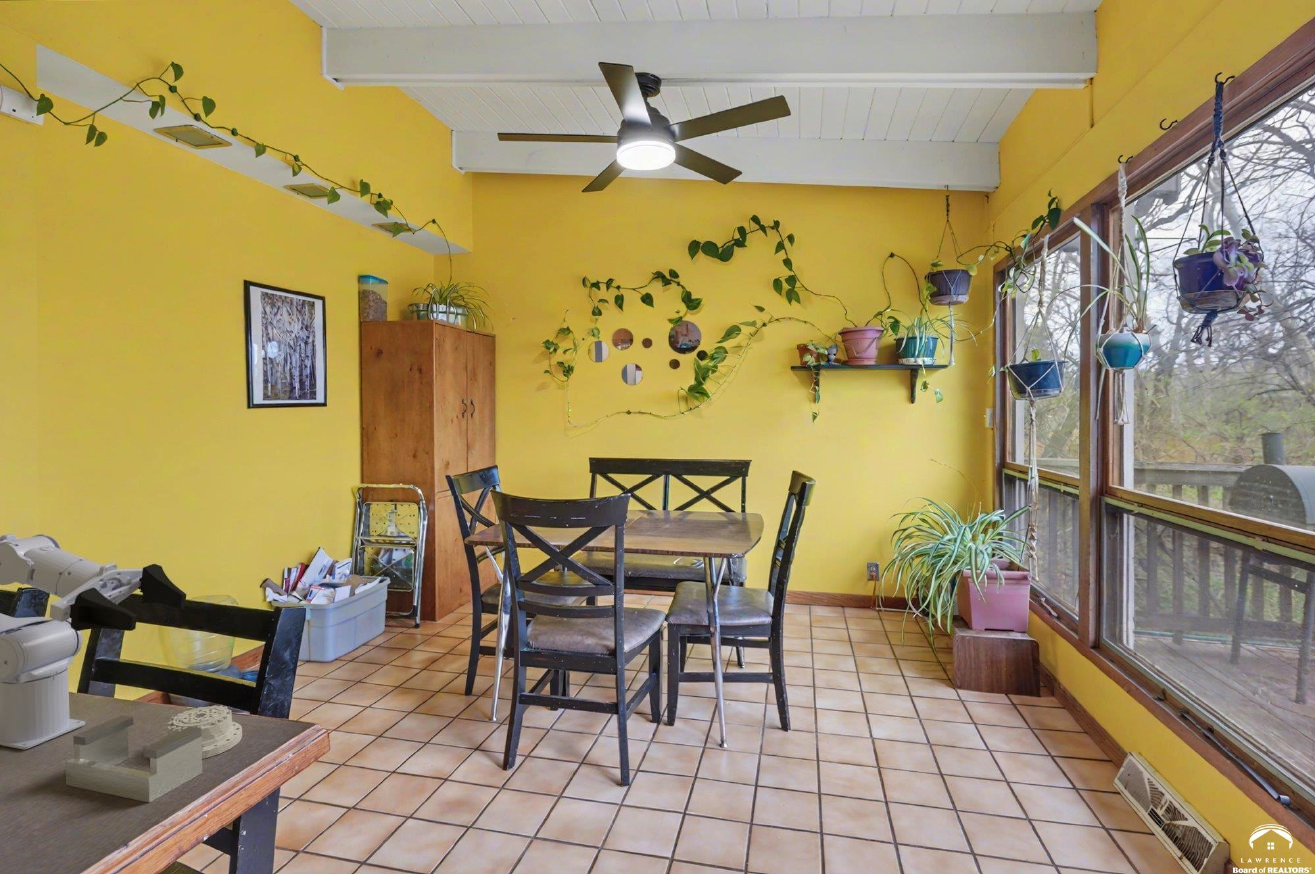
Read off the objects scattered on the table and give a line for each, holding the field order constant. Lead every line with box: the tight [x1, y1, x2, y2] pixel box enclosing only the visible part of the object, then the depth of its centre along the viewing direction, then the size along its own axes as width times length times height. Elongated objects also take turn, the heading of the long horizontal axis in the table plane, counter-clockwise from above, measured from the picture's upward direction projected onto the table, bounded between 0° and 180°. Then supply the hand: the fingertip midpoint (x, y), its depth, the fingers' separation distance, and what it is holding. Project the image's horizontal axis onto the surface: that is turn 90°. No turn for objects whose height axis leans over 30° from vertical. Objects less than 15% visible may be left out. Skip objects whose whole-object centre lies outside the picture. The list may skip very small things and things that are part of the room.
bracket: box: [64, 715, 203, 803], centre depth 88 cm, size 14×7×6 cm, turn 74°
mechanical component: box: [160, 704, 243, 760], centre depth 97 cm, size 10×4×10 cm
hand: (159, 611), depth 95 cm, fingers open, 7 cm apart
